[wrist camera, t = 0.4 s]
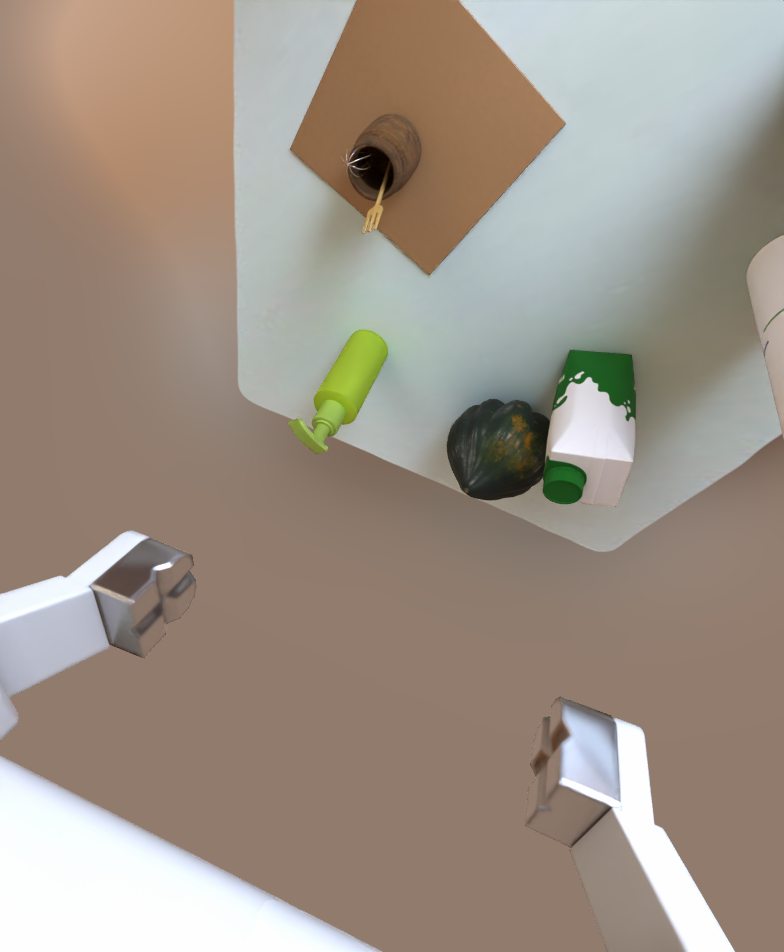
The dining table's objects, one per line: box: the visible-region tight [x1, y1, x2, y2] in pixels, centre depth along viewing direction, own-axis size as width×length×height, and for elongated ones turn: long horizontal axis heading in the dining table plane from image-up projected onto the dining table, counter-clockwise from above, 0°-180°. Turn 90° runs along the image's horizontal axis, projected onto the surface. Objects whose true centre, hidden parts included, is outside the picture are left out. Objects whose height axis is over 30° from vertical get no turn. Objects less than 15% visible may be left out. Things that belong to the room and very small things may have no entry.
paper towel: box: [290, 0, 565, 275], centre depth 48 cm, size 20×20×1 cm
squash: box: [447, 399, 550, 500], centre depth 69 cm, size 14×15×15 cm
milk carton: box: [543, 350, 636, 507], centre depth 56 cm, size 9×9×20 cm
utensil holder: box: [341, 113, 421, 234], centre depth 46 cm, size 6×6×12 cm
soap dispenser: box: [288, 330, 388, 454], centre depth 64 cm, size 6×7×20 cm
